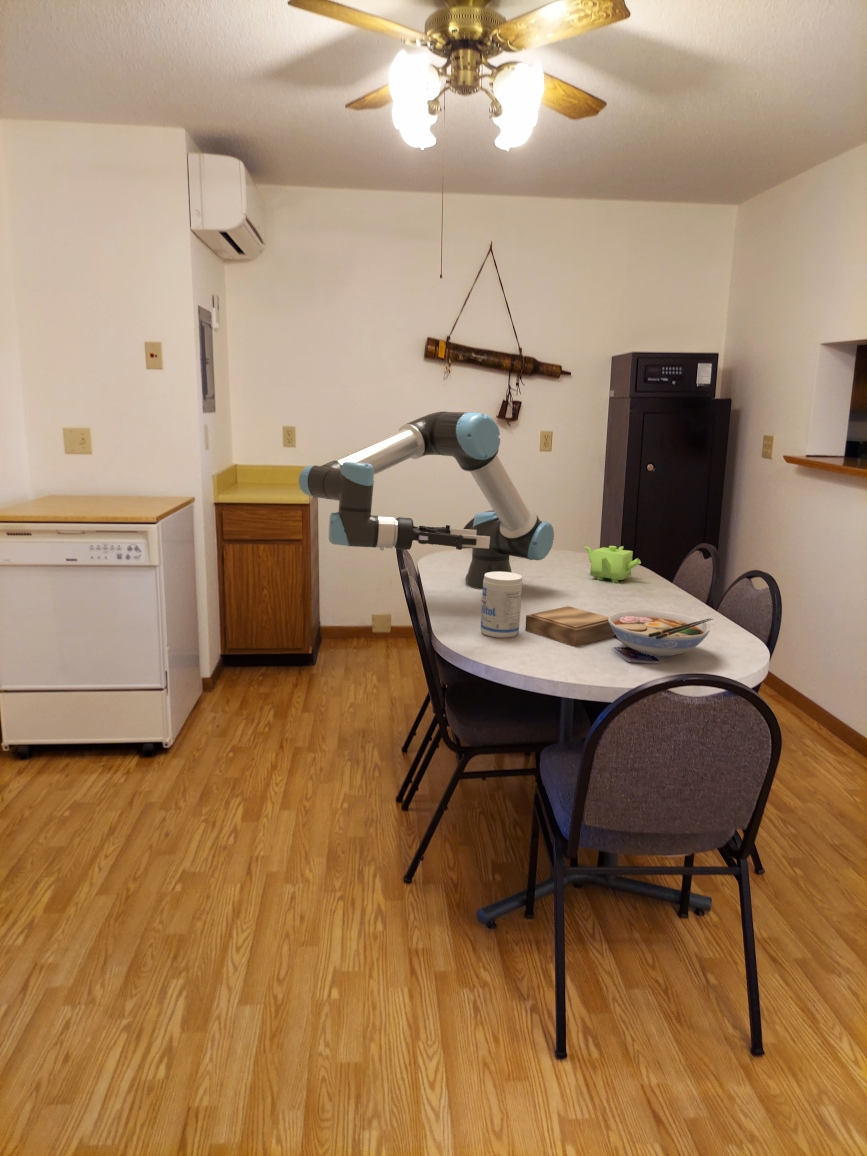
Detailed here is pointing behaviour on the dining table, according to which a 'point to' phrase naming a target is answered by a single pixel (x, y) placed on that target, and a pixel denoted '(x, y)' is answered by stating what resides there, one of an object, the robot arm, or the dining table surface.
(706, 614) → the dining table surface
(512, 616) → the supplement tub
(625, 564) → the kettle
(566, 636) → the stand
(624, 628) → the ramen bowl
